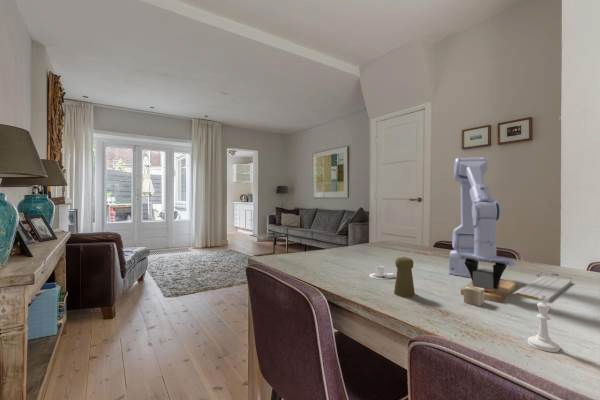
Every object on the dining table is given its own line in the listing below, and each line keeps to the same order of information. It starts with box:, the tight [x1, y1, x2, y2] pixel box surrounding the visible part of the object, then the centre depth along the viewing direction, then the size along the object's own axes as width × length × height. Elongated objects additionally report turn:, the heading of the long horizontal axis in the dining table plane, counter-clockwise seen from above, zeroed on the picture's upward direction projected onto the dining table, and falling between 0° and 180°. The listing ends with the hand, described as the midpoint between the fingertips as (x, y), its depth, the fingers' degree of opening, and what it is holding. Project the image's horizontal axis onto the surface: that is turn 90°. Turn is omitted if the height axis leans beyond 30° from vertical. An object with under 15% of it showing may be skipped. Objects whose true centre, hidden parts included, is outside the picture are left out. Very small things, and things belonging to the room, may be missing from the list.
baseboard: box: [511, 272, 572, 303], centre depth 95 cm, size 30×3×10 cm
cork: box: [393, 256, 416, 298], centre depth 90 cm, size 6×6×11 cm
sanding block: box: [473, 267, 500, 292], centre depth 90 cm, size 5×9×5 cm, turn 134°
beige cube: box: [463, 284, 485, 307], centre depth 82 cm, size 4×4×4 cm
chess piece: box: [527, 295, 561, 353], centre depth 58 cm, size 5×5×10 cm
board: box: [460, 278, 518, 303], centre depth 93 cm, size 10×22×2 cm, turn 134°
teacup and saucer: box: [368, 265, 396, 280], centre depth 109 cm, size 9×8×4 cm
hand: (485, 286), depth 89 cm, fingers closed on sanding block, 5 cm apart
